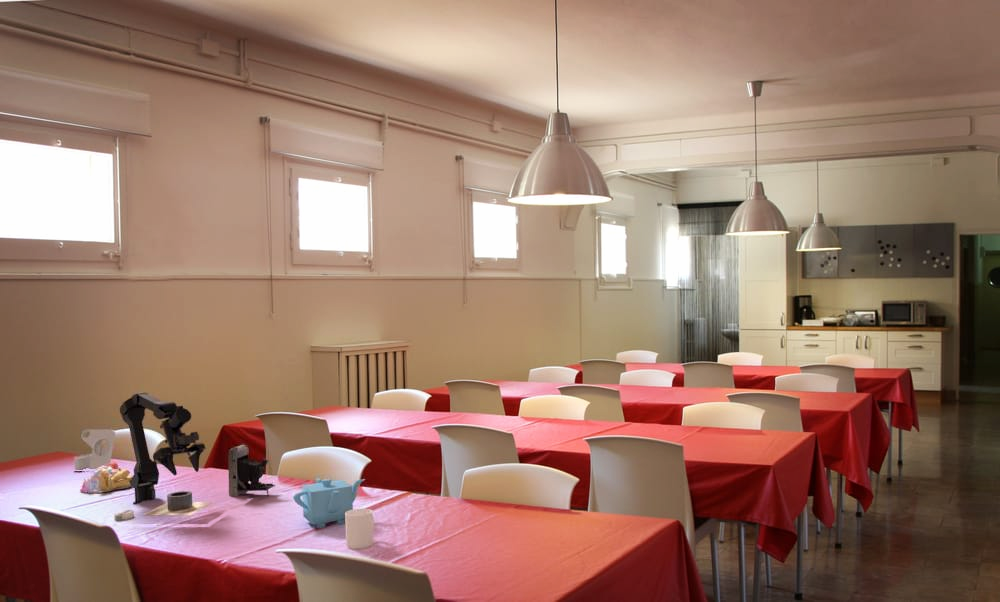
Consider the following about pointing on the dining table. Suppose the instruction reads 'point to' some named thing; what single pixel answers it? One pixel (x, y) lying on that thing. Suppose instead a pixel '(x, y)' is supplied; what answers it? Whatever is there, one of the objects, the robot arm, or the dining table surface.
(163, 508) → the mount board
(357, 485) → the teakettle
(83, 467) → the phone holder
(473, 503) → the dining table surface
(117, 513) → the beige mottled stone
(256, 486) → the vintage camera
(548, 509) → the dining table surface
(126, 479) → the candy landscape model
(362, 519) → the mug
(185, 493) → the ring
